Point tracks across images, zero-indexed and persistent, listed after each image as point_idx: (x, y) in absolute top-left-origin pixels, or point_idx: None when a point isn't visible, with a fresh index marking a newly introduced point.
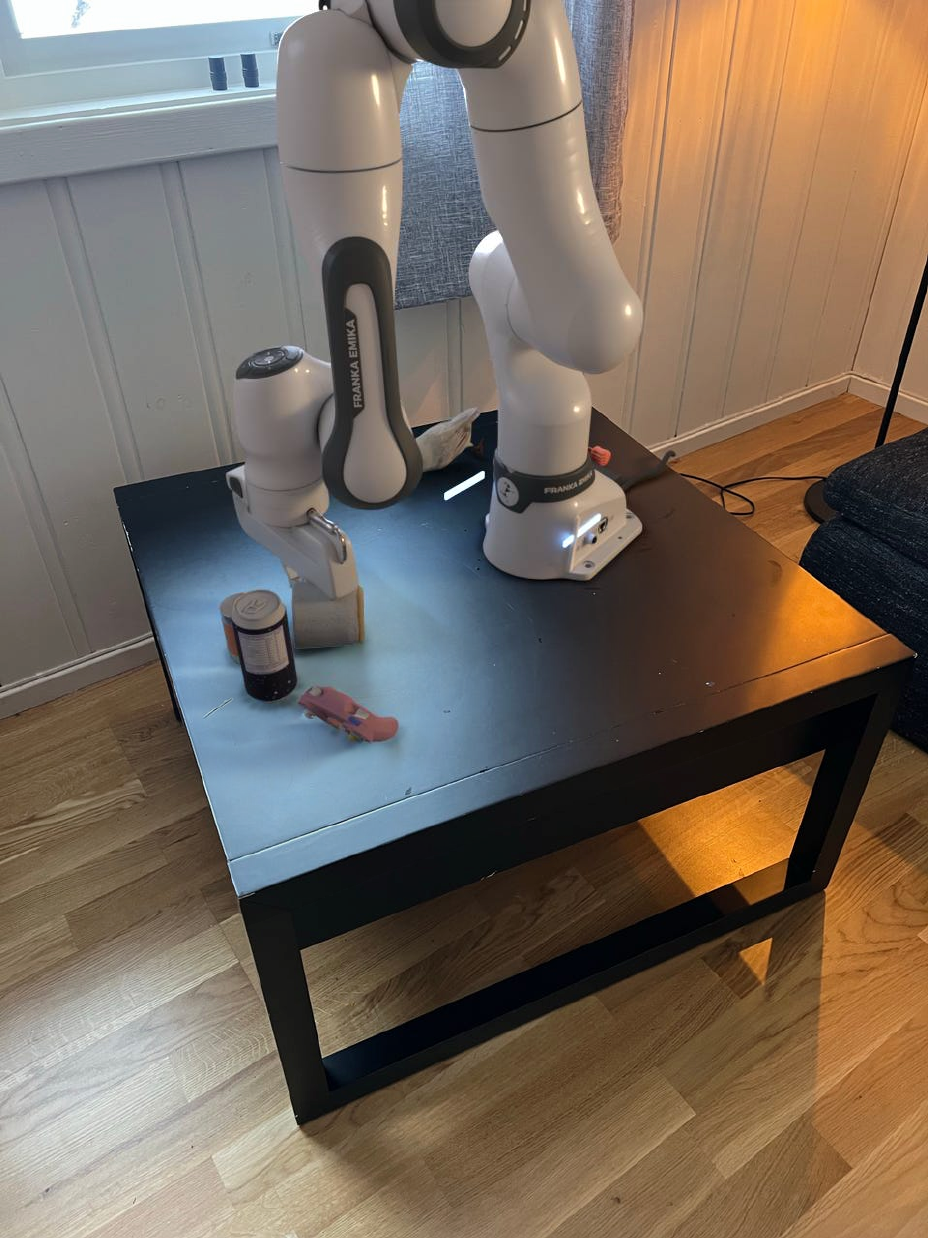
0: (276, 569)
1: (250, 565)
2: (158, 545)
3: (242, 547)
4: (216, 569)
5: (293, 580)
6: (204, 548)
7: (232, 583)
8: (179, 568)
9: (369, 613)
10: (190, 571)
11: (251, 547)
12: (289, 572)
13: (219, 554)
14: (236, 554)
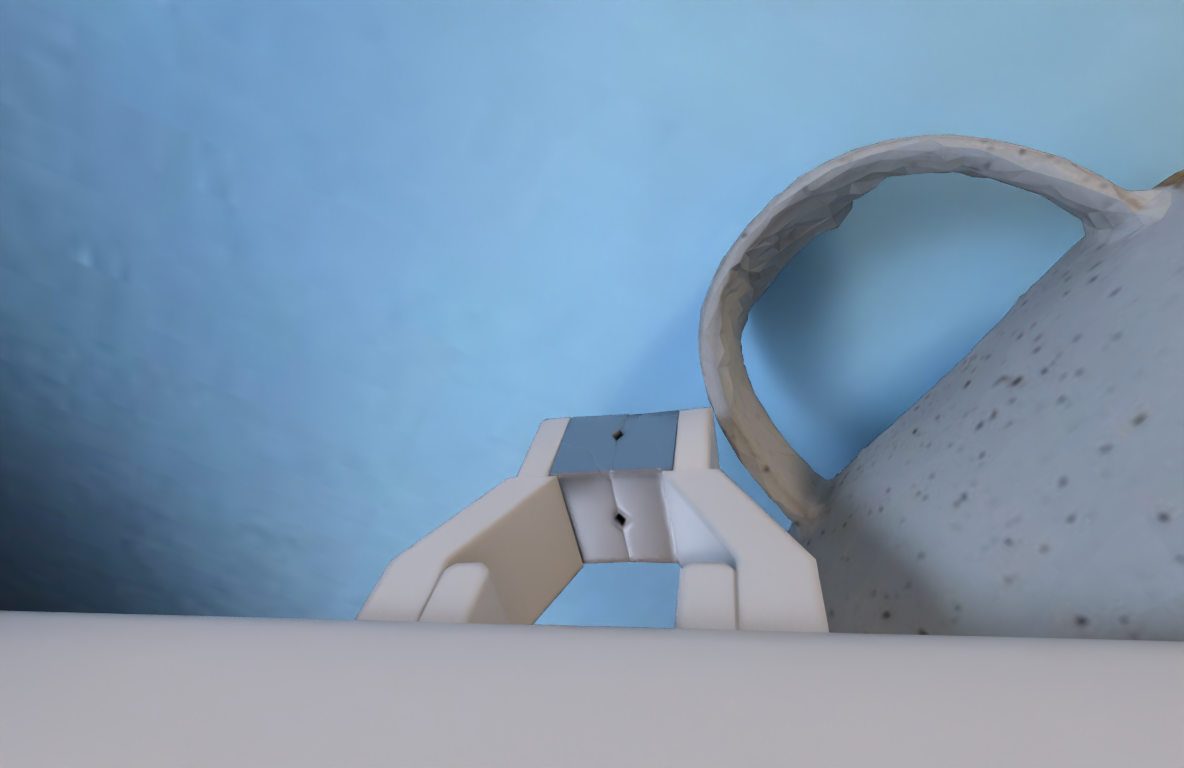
0: (255, 348)
1: (198, 428)
2: (36, 597)
3: (46, 396)
4: (208, 534)
5: (598, 555)
6: (54, 508)
7: (320, 532)
8: (182, 608)
9: (1061, 6)
10: (206, 594)
11: (45, 364)
12: (543, 597)
13: (100, 486)
14: (103, 438)
